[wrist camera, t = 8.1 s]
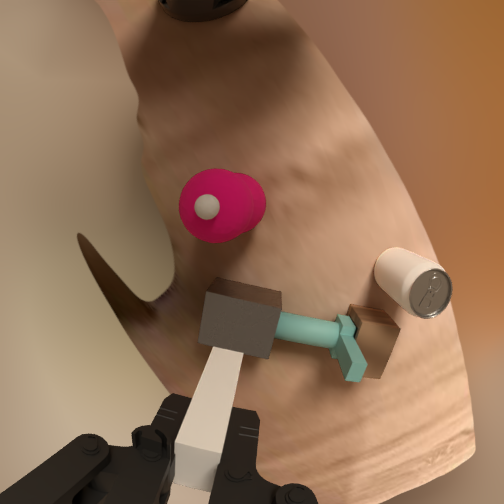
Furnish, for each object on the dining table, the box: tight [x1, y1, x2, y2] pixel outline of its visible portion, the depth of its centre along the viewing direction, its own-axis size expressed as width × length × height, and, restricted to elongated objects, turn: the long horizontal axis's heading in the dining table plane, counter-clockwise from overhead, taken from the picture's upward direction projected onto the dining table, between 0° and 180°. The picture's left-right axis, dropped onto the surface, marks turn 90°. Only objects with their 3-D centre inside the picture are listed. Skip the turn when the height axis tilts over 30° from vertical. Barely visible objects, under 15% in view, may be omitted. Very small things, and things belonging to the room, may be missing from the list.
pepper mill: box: [179, 169, 266, 243], centre depth 30 cm, size 7×7×20 cm
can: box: [374, 247, 452, 319], centre depth 34 cm, size 6×6×12 cm
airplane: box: [274, 311, 368, 382], centre depth 35 cm, size 16×5×11 cm, turn 78°
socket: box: [338, 304, 400, 379], centre depth 38 cm, size 8×6×7 cm
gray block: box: [198, 277, 282, 359], centre depth 39 cm, size 7×9×7 cm
